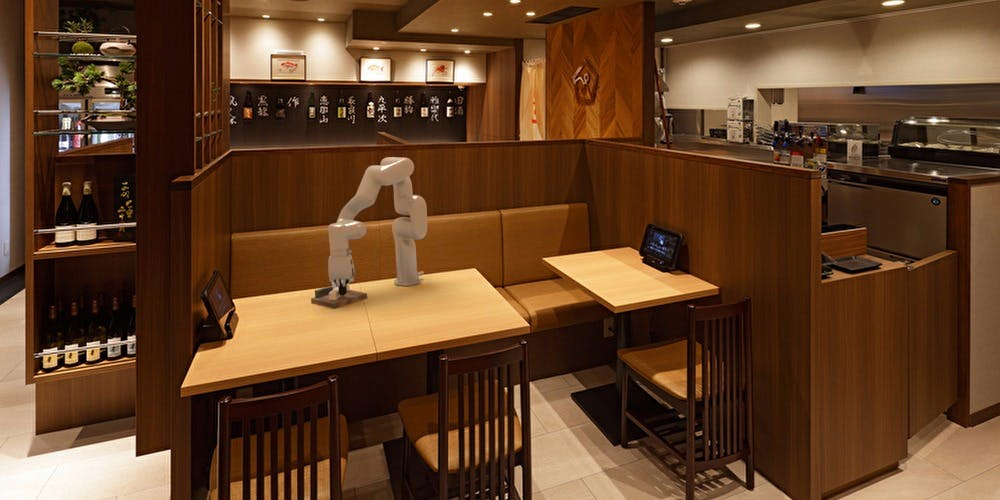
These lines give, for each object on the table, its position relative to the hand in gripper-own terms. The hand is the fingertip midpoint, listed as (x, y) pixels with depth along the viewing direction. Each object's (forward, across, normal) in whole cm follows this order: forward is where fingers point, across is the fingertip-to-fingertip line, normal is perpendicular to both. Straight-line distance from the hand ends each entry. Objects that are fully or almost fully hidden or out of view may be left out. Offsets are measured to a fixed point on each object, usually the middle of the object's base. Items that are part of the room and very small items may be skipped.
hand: (343, 294), depth 241 cm
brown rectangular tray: (+4, +3, -3) cm, 6 cm away
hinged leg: (+1, +3, -4) cm, 5 cm away
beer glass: (+4, +9, -17) cm, 20 cm away
